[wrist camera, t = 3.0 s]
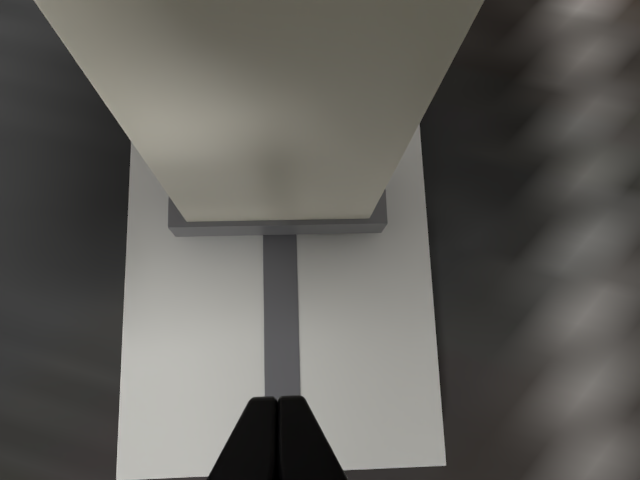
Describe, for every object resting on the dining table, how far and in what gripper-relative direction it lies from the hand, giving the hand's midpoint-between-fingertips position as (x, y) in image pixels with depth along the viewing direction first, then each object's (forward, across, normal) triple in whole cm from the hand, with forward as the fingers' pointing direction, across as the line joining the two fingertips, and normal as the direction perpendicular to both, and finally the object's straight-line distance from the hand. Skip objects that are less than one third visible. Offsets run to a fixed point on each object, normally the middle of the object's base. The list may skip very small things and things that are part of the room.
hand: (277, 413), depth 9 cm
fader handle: (+9, 0, +1) cm, 9 cm away
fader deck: (+10, 0, +2) cm, 10 cm away
